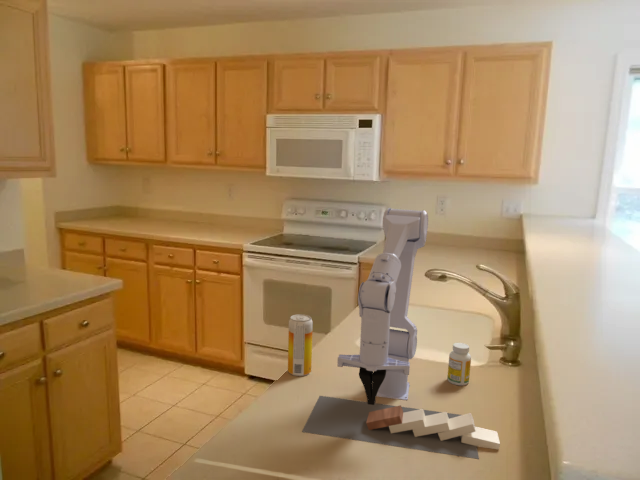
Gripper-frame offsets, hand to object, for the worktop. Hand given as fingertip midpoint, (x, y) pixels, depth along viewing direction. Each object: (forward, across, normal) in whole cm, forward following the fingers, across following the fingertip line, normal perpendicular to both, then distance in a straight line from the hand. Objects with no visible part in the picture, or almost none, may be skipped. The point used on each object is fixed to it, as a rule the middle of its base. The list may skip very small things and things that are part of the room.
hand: (371, 402), depth 100 cm
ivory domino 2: (+4, +9, 0) cm, 10 cm away
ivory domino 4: (+4, +18, 0) cm, 18 cm away
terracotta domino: (+4, 0, 0) cm, 4 cm away
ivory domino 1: (+4, +4, 0) cm, 6 cm away
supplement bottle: (+6, +19, +28) cm, 34 cm away
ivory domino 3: (+4, +14, 0) cm, 15 cm away
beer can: (+6, -21, +21) cm, 30 cm away
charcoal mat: (+5, +4, +2) cm, 7 cm away
